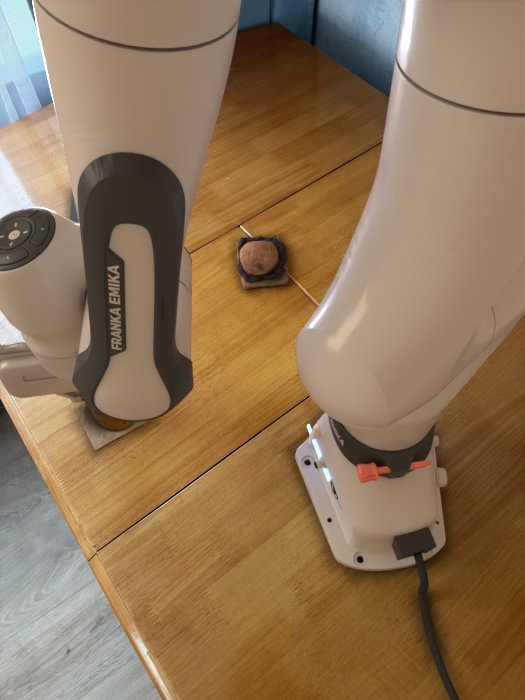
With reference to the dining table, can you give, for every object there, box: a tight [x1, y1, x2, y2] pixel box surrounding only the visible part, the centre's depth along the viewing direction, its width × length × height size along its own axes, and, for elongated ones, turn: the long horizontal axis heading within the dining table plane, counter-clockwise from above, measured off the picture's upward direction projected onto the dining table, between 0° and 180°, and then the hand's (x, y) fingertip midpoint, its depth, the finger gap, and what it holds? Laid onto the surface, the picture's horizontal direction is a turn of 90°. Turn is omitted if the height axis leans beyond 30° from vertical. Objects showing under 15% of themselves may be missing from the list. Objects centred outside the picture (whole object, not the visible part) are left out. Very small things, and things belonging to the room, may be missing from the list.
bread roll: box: [235, 234, 290, 290], centre depth 86 cm, size 11×8×4 cm
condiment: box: [73, 394, 148, 451], centre depth 69 cm, size 7×8×12 cm
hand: (108, 393), depth 69 cm, fingers closed on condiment, 6 cm apart
